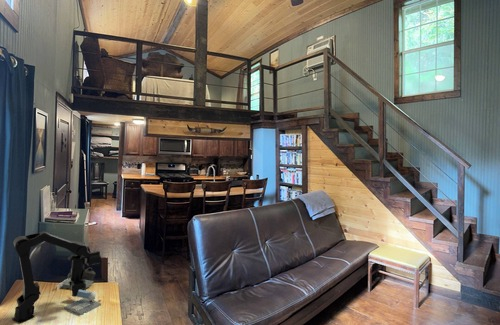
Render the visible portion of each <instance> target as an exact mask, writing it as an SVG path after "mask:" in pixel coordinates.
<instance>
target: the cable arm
mask: <svg viewBox="0 0 500 325" xmlns="http://www.w3.org/2000/svg"><path fill="white" fill-rule="evenodd" d="M96 293H97V292H96V291H95V290H94V291H93V290H91V291H89V290H86V289H82V290H79V291H78V293H77V296H76V297H77V298H80V299H83V298H86V299H89V300H94V301H95V299H96ZM71 296H72V297H74V295H73V293H71Z"/></svg>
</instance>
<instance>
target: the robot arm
mask: <svg viewBox="0 0 500 325" xmlns="http://www.w3.org/2000/svg"><path fill="white" fill-rule="evenodd" d="M43 242H45V243H49V244H51V245H55V246H58V247H60V248H63V249H66V250H67V251H69V252H71V253H72V254H71V255H70V256H68V257H67V259H68V260H69V261H70V262H71V268H70V271H69V273H67V279H68V280H69V279H70V280H71V281H70V282H69V284H70V287H71V289H70V290H71V291H72V293H73V295H74V297H76V296H77V293H78V291H79V290H80V289H82V290H86V289H85V288H86V283H85V282H84V281H83V280H90V281H94V278H95V276H96V272H95V271H94V270H93V268H92V267H87V268H86V269H85V265H87V266H92V265H93V266H94V265H99V264H101V261H102V258H101V252H100V250H96V251H93V252H92V251H91V252H89V251H88V246H86V244H84V242H81V241H78V240H77V241H76V240H68V239H66V238H63V237H61V236H57V235H55V234H52V233H49V232H47V231H44V230H43V231H39V232H37V233H31V234H27V235H20V236H17V237H15V239H14V240H13V245H14V249H15V250H16V253H17V255H18V257H19V263H20V270H21V275H22V281H23V286H22V293H21V294H20V296H18V297H17V298H16V300H15V301H16V305H17V306H16V307H15V308H14V317H12V318H11V320H12V321H14V322H17V323H18V324H22V323H25V322H27V321H29V320H32V319H33V318H35V303H36V302H37V301H38V300H39V298H40V295H42V293H41V290H40V285H39V282H38V281H36V282H34V276H33V275H34V274H33V270H32V263H31V256H30V254H31V248H33V247H35V246H37V245H38V244H41V243H43ZM73 254H75V255H73ZM72 293H71V294H72Z"/></svg>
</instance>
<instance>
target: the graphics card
mask: <svg viewBox="0 0 500 325" xmlns="http://www.w3.org/2000/svg"><path fill="white" fill-rule="evenodd" d="M70 281H71V279H68V278H66V279H64V280H63V281H62V282H61V281H60V283H58V284H57V285H56V291H58V290H59V289H70V290H71V287H70V284H69V282H70ZM83 281H84V282H85V283H86V288H85V289H84V290H87V289H88V288H90V287H91V286H92V285H93V284H94V283H95V282H94V280H90V279H84V280H83ZM80 290H83V289H80Z"/></svg>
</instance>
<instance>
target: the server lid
mask: <svg viewBox="0 0 500 325" xmlns="http://www.w3.org/2000/svg"><path fill="white" fill-rule="evenodd" d="M100 306H102V302H99V301H97V300H95V299H94V300H89V299H86V298H80V299H78V300H76V301H74V302H71V303H69V304H67V305H65V306H64V310H66V311H68V312H71V313H73V314H76V315H79V316H80V315H81V316H83V315H84V313H85V314H87V313H88V312H91V311H92V310H94V309H97V308H99V307H100ZM82 314H83V315H82Z"/></svg>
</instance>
